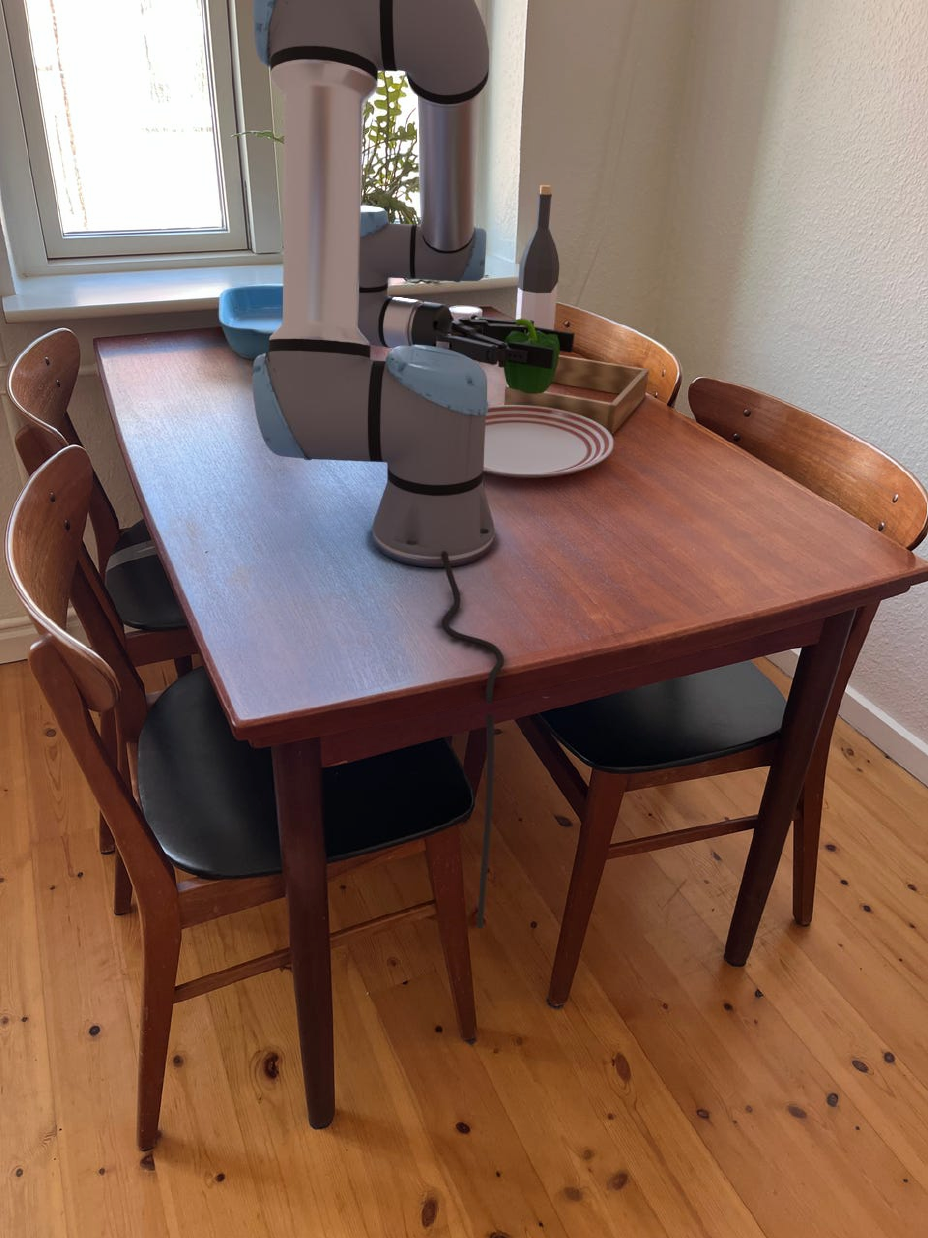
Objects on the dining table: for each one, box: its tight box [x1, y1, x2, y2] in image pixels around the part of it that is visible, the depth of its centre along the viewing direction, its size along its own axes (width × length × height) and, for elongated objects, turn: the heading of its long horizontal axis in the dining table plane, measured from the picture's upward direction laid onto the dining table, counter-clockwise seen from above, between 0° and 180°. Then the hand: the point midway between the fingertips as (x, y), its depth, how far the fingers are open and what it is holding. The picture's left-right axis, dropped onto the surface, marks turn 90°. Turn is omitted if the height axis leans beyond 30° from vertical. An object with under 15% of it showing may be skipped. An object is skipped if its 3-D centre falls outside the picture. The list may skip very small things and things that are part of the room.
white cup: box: [448, 305, 483, 320], centre depth 191 cm, size 7×7×7 cm
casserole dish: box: [218, 283, 283, 360], centre depth 188 cm, size 37×22×7 cm, turn 13°
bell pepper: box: [503, 319, 560, 394], centre depth 136 cm, size 8×8×10 cm
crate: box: [501, 354, 650, 436], centre depth 162 cm, size 20×22×5 cm
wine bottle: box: [515, 184, 560, 330], centre depth 189 cm, size 8×8×30 cm
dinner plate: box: [483, 404, 615, 479], centre depth 142 cm, size 27×27×3 cm
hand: (562, 350), depth 133 cm, fingers closed on bell pepper, 8 cm apart
